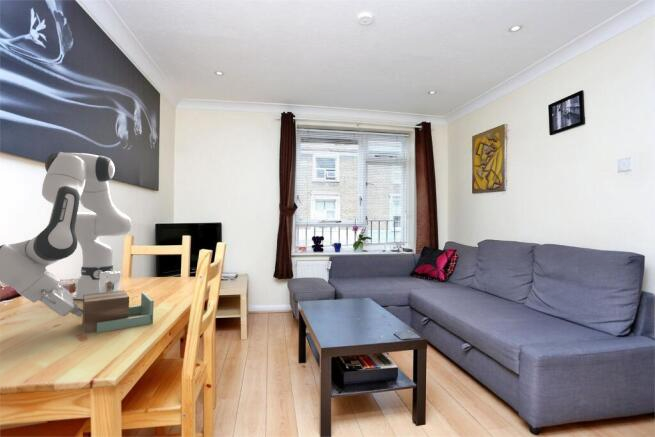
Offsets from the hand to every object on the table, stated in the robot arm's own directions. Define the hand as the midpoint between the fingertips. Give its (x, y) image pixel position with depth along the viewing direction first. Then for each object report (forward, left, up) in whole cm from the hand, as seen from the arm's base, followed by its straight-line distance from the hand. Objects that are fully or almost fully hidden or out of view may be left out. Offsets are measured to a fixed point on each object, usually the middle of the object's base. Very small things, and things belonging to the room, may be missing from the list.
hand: (81, 313), depth 103 cm
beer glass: (-20, +10, -5) cm, 23 cm away
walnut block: (0, +7, -5) cm, 8 cm away
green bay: (0, +12, -5) cm, 13 cm away
